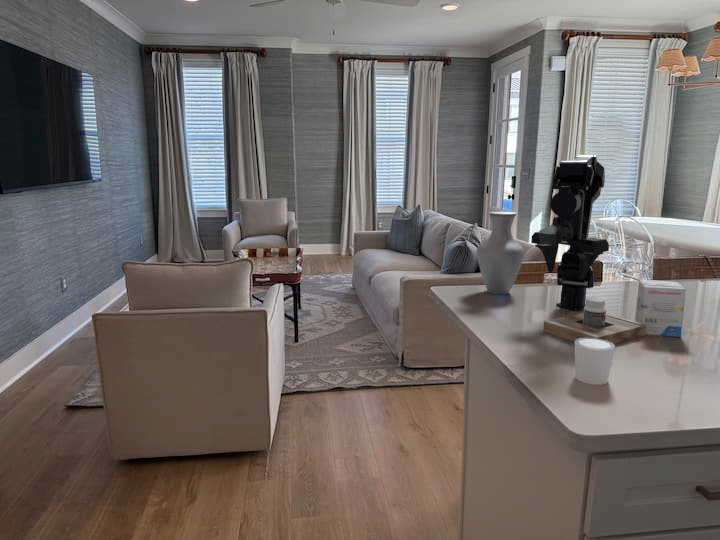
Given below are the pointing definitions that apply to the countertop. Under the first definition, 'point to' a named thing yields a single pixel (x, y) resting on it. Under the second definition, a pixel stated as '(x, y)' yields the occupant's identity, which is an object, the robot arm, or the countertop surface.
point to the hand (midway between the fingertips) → (565, 275)
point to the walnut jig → (612, 332)
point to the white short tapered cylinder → (593, 360)
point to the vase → (500, 255)
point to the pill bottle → (594, 313)
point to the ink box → (660, 307)
